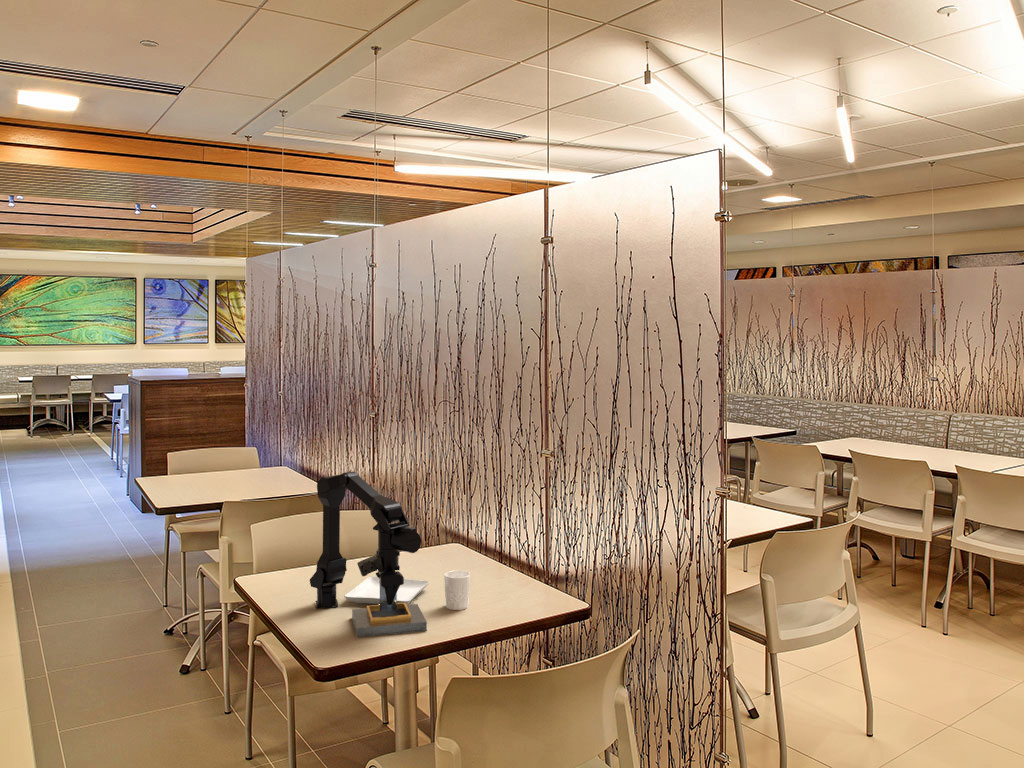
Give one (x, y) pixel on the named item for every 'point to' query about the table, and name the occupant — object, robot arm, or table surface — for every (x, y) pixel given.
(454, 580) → the white cup
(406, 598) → the salad plate
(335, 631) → the table surface
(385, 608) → the can
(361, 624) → the grey and gold frame
